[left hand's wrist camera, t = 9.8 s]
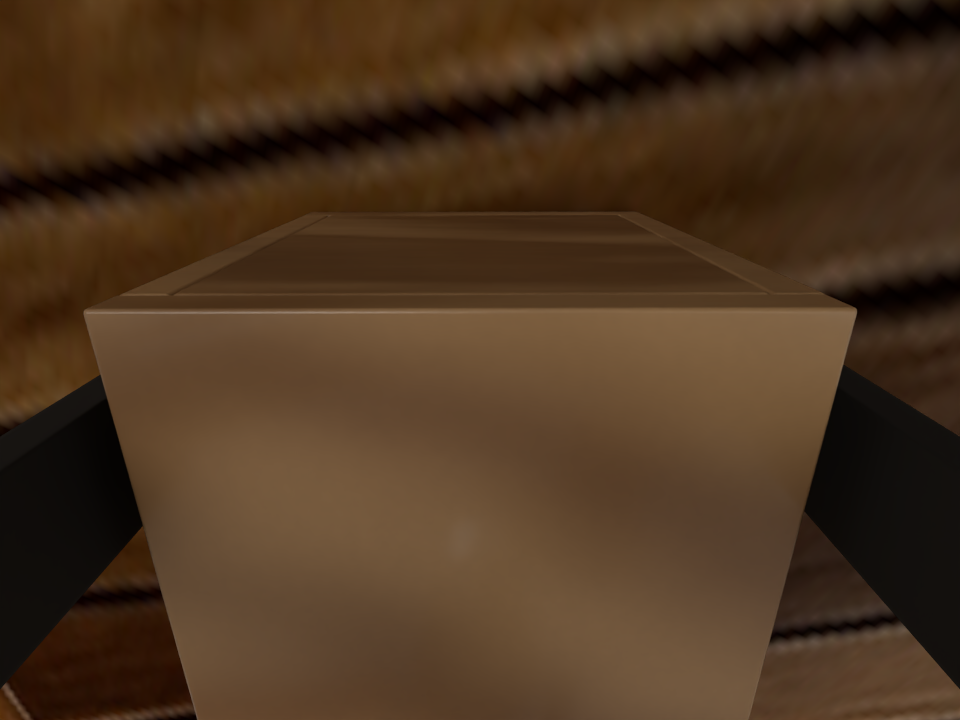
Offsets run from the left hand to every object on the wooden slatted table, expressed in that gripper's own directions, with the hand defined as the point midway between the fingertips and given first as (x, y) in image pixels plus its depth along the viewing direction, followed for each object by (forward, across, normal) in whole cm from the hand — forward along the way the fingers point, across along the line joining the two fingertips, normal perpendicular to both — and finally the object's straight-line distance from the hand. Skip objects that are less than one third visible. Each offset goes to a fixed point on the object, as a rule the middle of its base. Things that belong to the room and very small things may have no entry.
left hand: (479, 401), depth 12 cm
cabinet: (+8, 0, -6) cm, 10 cm away
